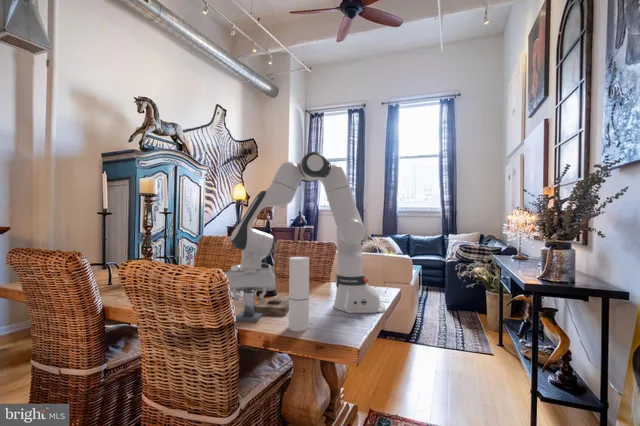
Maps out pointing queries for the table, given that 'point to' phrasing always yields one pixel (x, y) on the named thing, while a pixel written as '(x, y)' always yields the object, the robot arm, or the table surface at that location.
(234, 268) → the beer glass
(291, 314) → the cylindrical container
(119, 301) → the table surface
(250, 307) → the metal plug
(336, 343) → the table surface
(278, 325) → the table surface
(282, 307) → the walnut bore block
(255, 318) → the slate mat
